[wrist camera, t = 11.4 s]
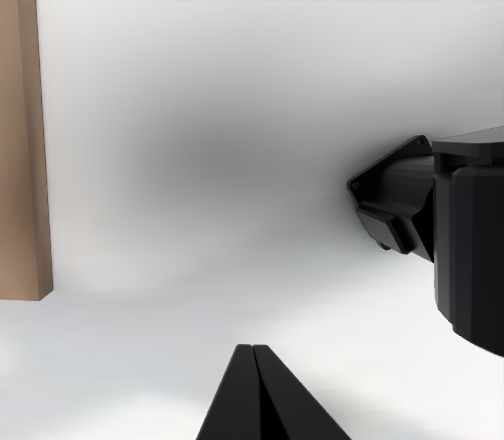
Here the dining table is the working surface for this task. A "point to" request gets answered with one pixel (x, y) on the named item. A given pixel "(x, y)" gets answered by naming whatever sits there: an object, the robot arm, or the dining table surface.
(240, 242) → the dining table surface
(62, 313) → the dining table surface
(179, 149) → the dining table surface
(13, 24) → the wooden block stand
